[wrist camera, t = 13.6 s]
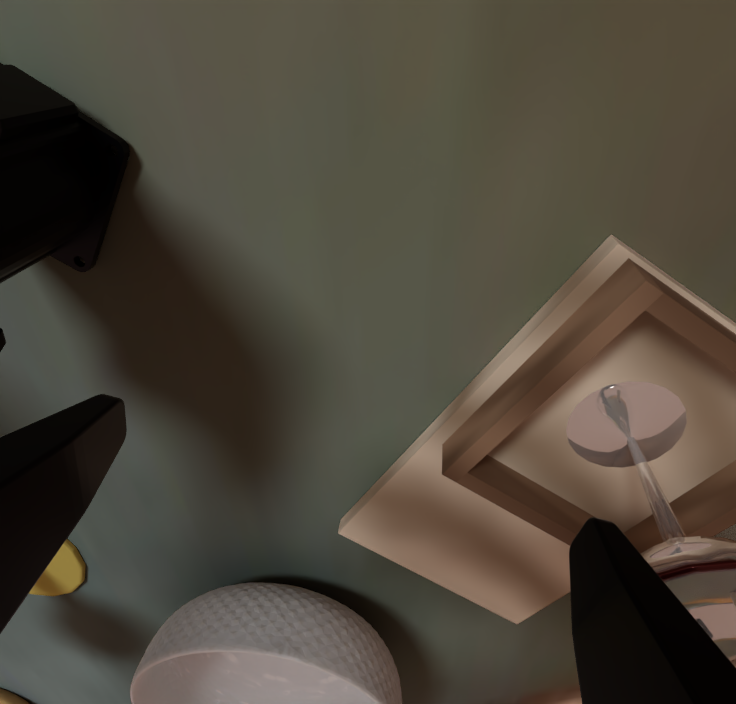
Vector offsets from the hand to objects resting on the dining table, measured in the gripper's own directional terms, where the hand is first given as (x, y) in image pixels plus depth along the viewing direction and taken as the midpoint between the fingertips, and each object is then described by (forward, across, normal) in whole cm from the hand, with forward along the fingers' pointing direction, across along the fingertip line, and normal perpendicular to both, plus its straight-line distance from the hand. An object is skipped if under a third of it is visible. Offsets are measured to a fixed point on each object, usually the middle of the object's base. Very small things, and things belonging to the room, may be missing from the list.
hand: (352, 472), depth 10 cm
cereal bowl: (+13, +1, +29) cm, 32 cm away
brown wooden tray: (+13, -10, +10) cm, 19 cm away
